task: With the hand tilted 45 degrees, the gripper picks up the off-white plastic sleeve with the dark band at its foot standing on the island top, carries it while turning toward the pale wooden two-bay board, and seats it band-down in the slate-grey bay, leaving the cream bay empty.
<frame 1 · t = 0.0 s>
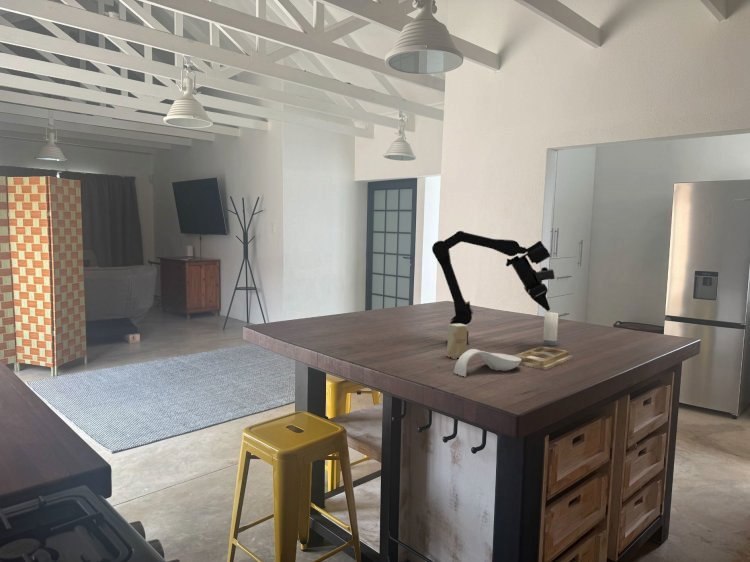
hand: (547, 308, 190), 15 cm above the table, tool tilted 35°, fingers open, 9 cm apart
spoon rest: (487, 372, 161), on the table
bay board: (539, 360, 175), on the table
sleeve: (549, 344, 199), on the table
box: (456, 357, 176), on the table
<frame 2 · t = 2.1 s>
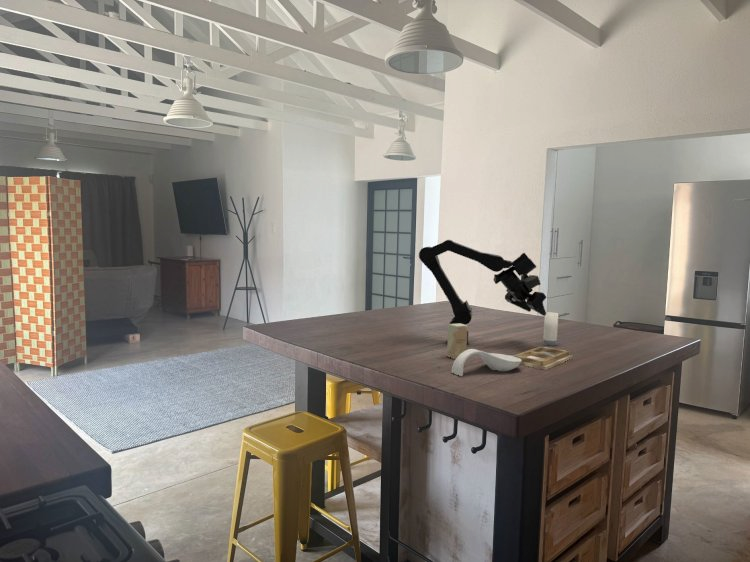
hand: (537, 312, 196), 12 cm above the table, tool tilted 45°, fingers open, 9 cm apart
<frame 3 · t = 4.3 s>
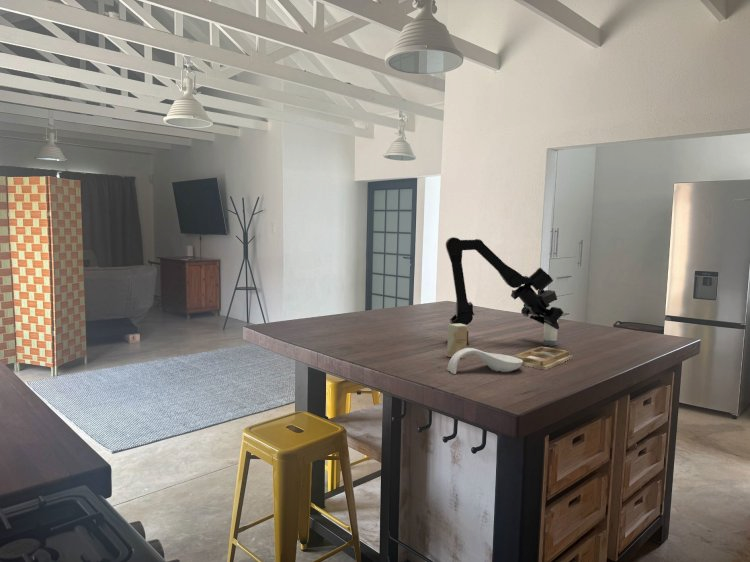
hand: (553, 327, 199), 7 cm above the table, tool tilted 45°, fingers closed on sleeve, 5 cm apart
sleeve: (549, 344, 199), on the table, touching gripper
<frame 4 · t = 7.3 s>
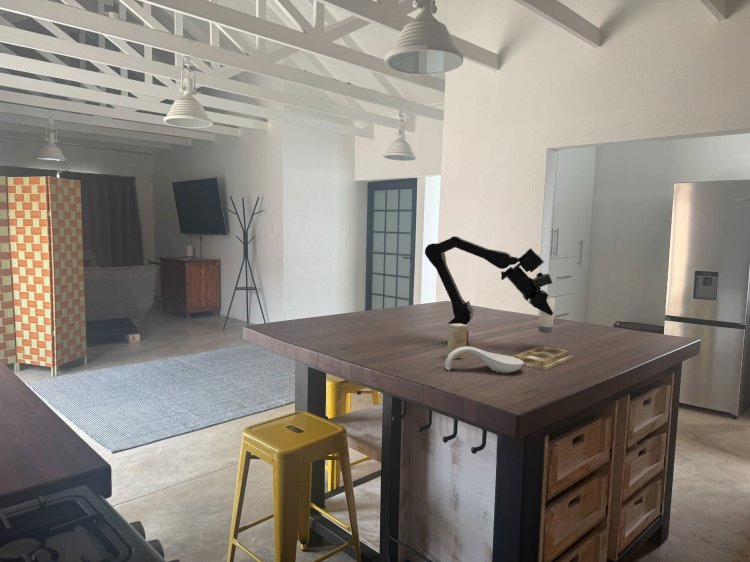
hand: (550, 313, 188), 13 cm above the table, tool tilted 45°, fingers closed on sleeve, 5 cm apart
sleeve: (545, 331, 189), point 7 cm above the table, touching gripper
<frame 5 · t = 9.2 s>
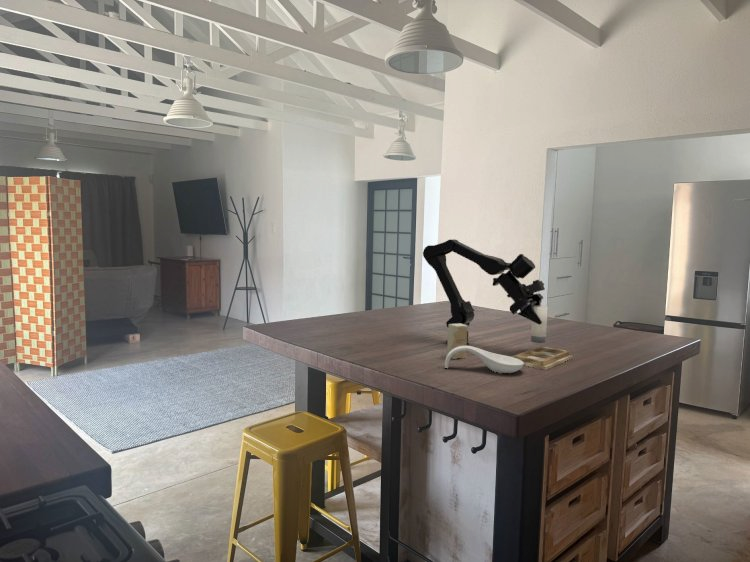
hand: (543, 322, 178), 12 cm above the table, tool tilted 45°, fingers closed on sleeve, 5 cm apart
sleeve: (538, 341, 179), point 5 cm above the table, touching gripper
when the fingers open (9 cm above the table, at t = 10.5 s): sleeve stays where it is, resting on bay board.
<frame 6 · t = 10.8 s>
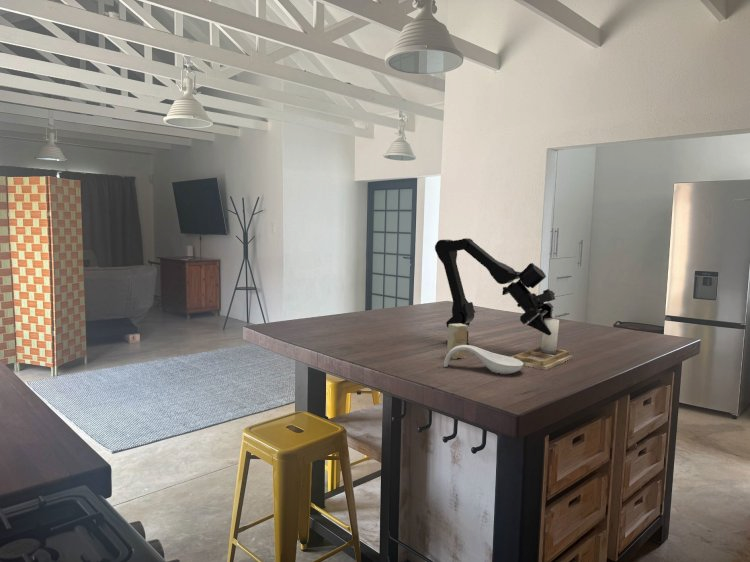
hand: (553, 332, 176), 9 cm above the table, tool tilted 45°, fingers open, 7 cm apart
sleeve: (548, 354, 178), point 1 cm above the table, touching bay board
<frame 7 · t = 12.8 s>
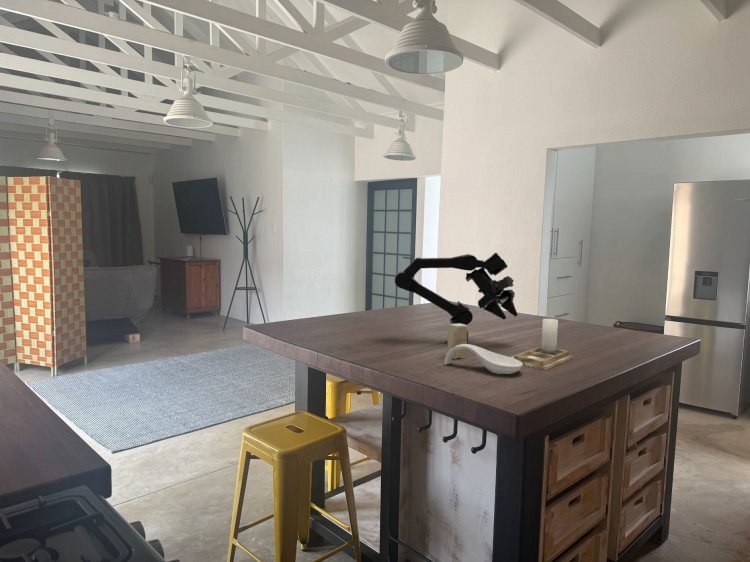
hand: (511, 317, 187), 12 cm above the table, tool tilted 45°, fingers open, 9 cm apart
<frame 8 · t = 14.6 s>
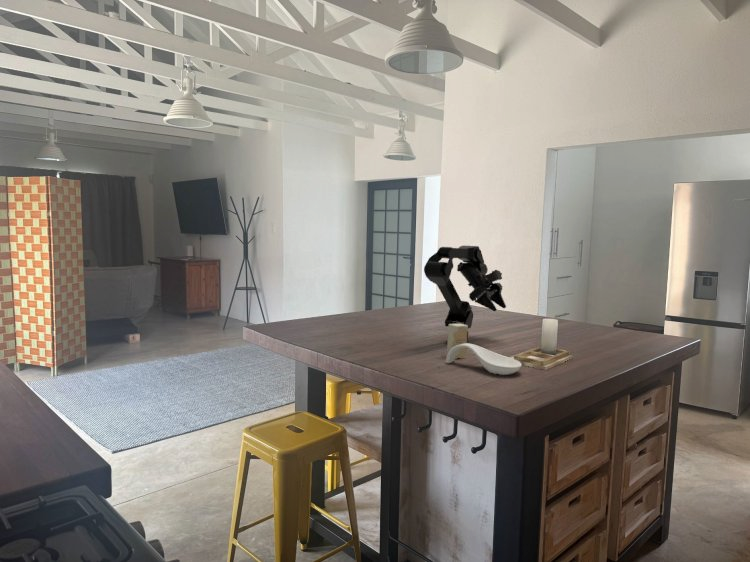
hand: (500, 309, 194), 14 cm above the table, tool tilted 45°, fingers open, 9 cm apart
at the end: sleeve inside the target area (0.0 cm from its centre), point 1.1 cm above the table; sleeve tilted 0°; the gripper is holding nothing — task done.
